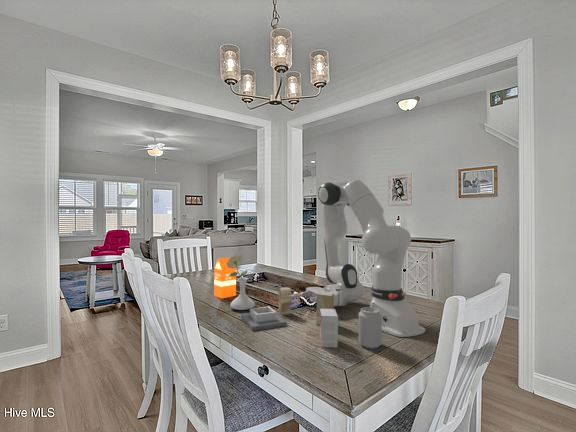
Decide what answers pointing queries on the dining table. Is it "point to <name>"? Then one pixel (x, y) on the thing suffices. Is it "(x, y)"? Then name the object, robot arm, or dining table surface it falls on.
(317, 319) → the skincare box
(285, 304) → the maple peg
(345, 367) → the dining table surface
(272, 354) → the dining table surface
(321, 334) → the small box
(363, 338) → the can
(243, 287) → the flower in vase
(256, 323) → the socket board
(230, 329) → the dining table surface
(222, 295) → the orange juice
